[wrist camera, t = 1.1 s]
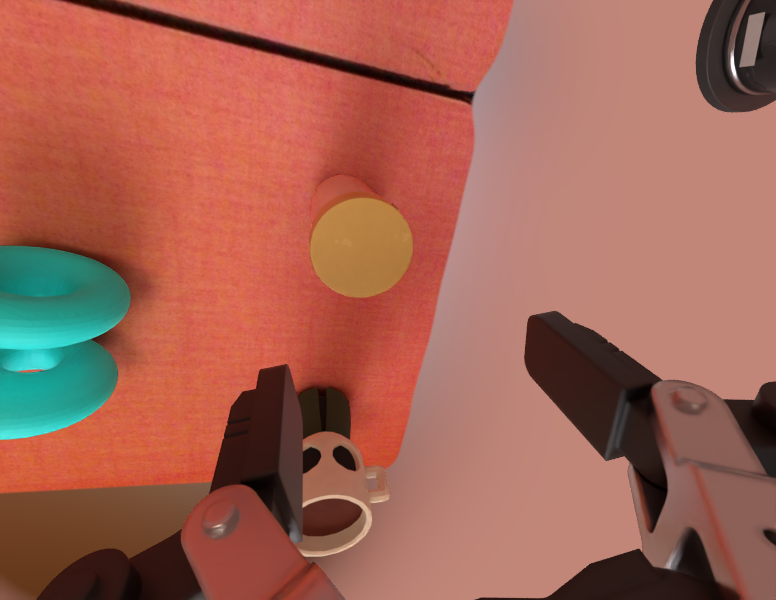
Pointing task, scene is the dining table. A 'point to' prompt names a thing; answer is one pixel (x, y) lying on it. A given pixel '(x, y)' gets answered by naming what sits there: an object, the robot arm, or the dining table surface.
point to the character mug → (334, 477)
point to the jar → (335, 191)
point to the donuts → (55, 338)
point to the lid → (360, 244)
